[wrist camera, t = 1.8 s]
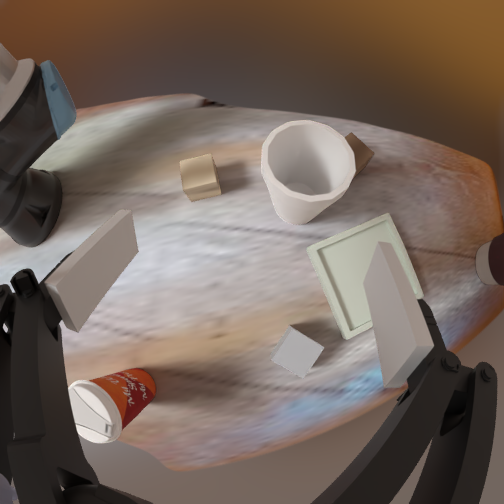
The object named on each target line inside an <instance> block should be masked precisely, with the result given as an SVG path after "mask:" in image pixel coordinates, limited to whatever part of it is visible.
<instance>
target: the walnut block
mask: <svg viewBox="0 0 504 504" xmlns="http://www.w3.org/2000/svg"><path fill="white" fill-rule="evenodd" d="M345 139H346V141H347V143H348V144H349V146H350V147H351V149H352V151H353V152H354V158H355V168H356V172H355V174H354V176H353V178H354V177H355V176H356V175H357V174H358V173H359V172H360V171H361V170H363V169H364V168H365V167H366V165H367V164H368V162H369V161H370V159H371V158H372V156H373V155H374V152H373V151H372V150H370V149H369V148H368V147H367V146H366V145H365V144H364V143H363V142H362V141H361V140H360V139H358V138H357V137H356V136H355V135H354V134H353V133H352V132H351V133H350V134H349V135H347V136H346V137H345Z"/></svg>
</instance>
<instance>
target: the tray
mask: <svg viewBox="0 0 504 504" xmlns="http://www.w3.org/2000/svg"><path fill="white" fill-rule="evenodd" d="M378 241H381V242H387V243H391V244H392V246H393V248H394V250H395V252H396V254H397V256H398V259H399V261H400V263H401V265H402V267H403V269H404V271H405V274H406V276H407V278H408V280H409V282H410V285H411V287H412V289H413V292H414V294H415V296H416V299H421V298H422V297H424V295H423V292H422V289H421V287H420V284H419V281H418V279H417V276H416V273H415V271H414V268H413V266H412V263H411V261H410V258H409V256H408V254H407V251H406V249H405V247H404V244H403V242H402V240H401V238H400V235H399V233H398V231H397V229H396V227H395V225H394V222H393V220H392V218H391V216H390V214H389V212H388V213H386V214H383V215H381V216H379V217H377V218H374V219H372V220H370V221H367V222H365V223H363V224H360V225H358V226H356V227H353V228H351V229H349V230H346V231H344V232H342V233H339V234H337V235H335V236H332V237H330V238H328V239H325V240H323V241H321V242H318V243H316V244H314V245H311V246H309V247H308V248H307V249H306V251H307V253H308V255H309V258H310V260H311V262H312V264H313V267H314V269H315V271H316V274H317V276H318V278H319V281H320V283H321V286H322V288H323V290H324V293H325V295H326V298H327V300H328V302H329V305H330V307H331V310H332V312H333V315H334V317H335V320H336V322H337V325H338V327H339V330H340V332H341V335H342V338H344V339H346V340H348V339H350V338H352V337H354V336H356V335H358V334H360V333H361V332H363V331H365V330H367V329H369V328H371V327H373V323H372V319H371V314H370V310H369V306H368V301H367V297H366V293H365V289H364V285H363V282H364V279H365V276H366V274H367V271H368V268H369V265H370V263H371V260H372V257H373V254H374V251H375V248H376V245H377V242H378Z"/></svg>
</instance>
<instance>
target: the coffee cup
mask: <svg viewBox="0 0 504 504" xmlns="http://www.w3.org/2000/svg"><path fill="white" fill-rule="evenodd" d="M475 263H476V270H477V274H478V276H479V278H480V280H481V281H482V282H483V283H484V284H487V285H503V286H504V233H503V234H501V235H499V236H497V237H495V238H494V239H493V240H492V241H490V242H487V243H485V244H483V245H482V246H481V247H480V248H479V249H478V251H477V254H476V261H475Z"/></svg>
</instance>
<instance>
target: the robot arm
mask: <svg viewBox="0 0 504 504" xmlns="http://www.w3.org/2000/svg"><path fill="white" fill-rule="evenodd" d="M75 120H76V109H75V106H74V103H73V101H72V99H71V96H70V94H69V92H68V90H67V88H66V86H65V84H64V82H63V80H62V78H61V76H60V74H59V72H58V71H57V69H56V67H55V66H54V64H53V63H52V62H51V61H49V60H48V61H45V62H43V63H41V65H40V66H37V64H36V63H35V62H34V61H33V60H32V59H24V60H20V61H16V59H15V58H14V57H13V56H12V55H11V54H10V53H9V52H8V51H7V50H6V49H5V48H4V47H3V45H2V44H1V43H0V228H2V229H3V230H4V231H5V232H6V233H7V234H8V235H9V236H11V237H12V239H13V240H14V241H15V242H16V243H18V244H20V245H23V246H26V247H34V246H36V245H38V244H40V243H41V242H42V241H43V240H44V239H45V238H46V237H47V236H48V234H49V233H50V231H51V230H52V228H53V226H54V224H55V222H56V220H57V217H58V214H59V211H60V207H61V200H62V189H61V184H60V182H59V180H58V178H57V177H56V176H54V175H53V174H51V173H50V172H48V171H46V170H38V169H33V168H29V167H30V166H31V165H32V164H33V163H34V162H35V161H36V160H37V159H38V158H39V157H40V156H41V155H42V154H43V153H44V152H45V151H46V150H47V149H48V148H49V147H50V146H51V145H52V144H53V143H54V142H56V141H57V140H59V139H60V138H61V135H63V134H64V133H65V132H66V131H67V130H68V129H69V128H70V127H71V126H72V125H73V124H74V122H75ZM138 252H139V251H138V246H137V241H136V235H135V229H134V223H133V216H132V210H123V209H120V210H119V211H118V212H117V213H116V214H114V215H113V216H112V217H111V218H110V219H109V220H108V221H106V222H105V223H104V224H103V225H102V226H101V227H100V228H98V229H97V230H96V231H95V232H94V233H93V234H92V235H91V236H90V237H89V238H88V239H86V240H85V241H84V242H83V243H82V244H81V245H80V246H79V247H78V248H77V249H76V250H75V251H73V252H71V253H70V254H68V255H66V256H65V257H64V258H63V259H62V260H61V261H60V263H58V264H57V265H56V266H55V268H54V269H53V270H52V271H51V272H50V273H49V274H48V275H47V276H46V277H45V278H44V279H43V280H42V281H41V282H40V283H39V284H38V281H37V279H36V277H35V275H34V272H33V271H32V270H31V269H23V270H21V271H19V272H17V273H16V274H15V275H14V276H13V277H12V279H11V281H10V282H11V284H12V286H13V288H14V290H15V292H16V293H12V291H11V289H10V287H9V286H8V285H7V284H3V285H0V504H13V501H12V500H17V499H19V503H20V504H153V503H151V502H149V501H146V500H144V499H141V498H139V497H136V496H133V495H131V494H129V493H126V492H123V491H119V490H117V489H113V488H110V487H108V486H105V485H102V484H100V483H99V481H98V478H97V476H96V474H95V472H94V470H93V468H92V467H91V466H90V464H89V463H88V462H87V460H86V458H85V456H84V453H83V450H82V446H81V443H80V440H79V437H78V432H77V428H76V424H75V420H74V416H73V412H72V407H71V402H70V397H69V391H68V386H67V379H66V373H65V365H64V357H63V347H62V334H61V327H60V325H59V323H60V321H61V320H63V322H64V324H65V325H66V327H67V328H68V329H71V330H73V331H76V332H79V331H80V329H81V328H82V326H83V325H84V323H85V322H86V321H87V319H88V318H89V316H90V315H91V313H92V312H93V311H94V309H95V308H96V306H97V305H98V304H99V302H100V301H101V300H102V298H103V297H104V295H105V294H106V293H107V291H108V290H109V289H110V287H111V286H112V285H113V283H114V282H115V281H116V280H117V278H118V277H119V276H120V274H121V273H122V272H123V271H124V269H125V268H126V267H127V266H128V264H129V263H130V262H131V261H132V259H133V258H134V257H135V256H136V254H137V253H138ZM363 285H364V289H365V293H366V297H367V301H368V306H369V310H370V314H371V319H372V323H373V328H374V333H375V338H376V343H377V348H378V354H379V359H380V365H381V371H382V377H383V384H384V388H397V387H401V386H402V385H403V383H404V382H405V381H406V380H407V382H408V389H407V390H406V391H405V392H404V393H403V394H402V395H401V396H400V397H399V398H398V399H397V401H398V403H397V404H396V406H395V407H394V409H393V411H392V412H391V413H390V415H389V416H388V417H387V419H386V420H385V422H384V423H383V424H382V426H381V427H380V429H379V430H378V431H377V432H376V434H375V435H374V436H373V438H372V439H371V440H370V441H369V443H368V444H367V445H366V446H365V448H364V449H363V450H362V451H361V452H360V454H359V455H358V456H357V457H356V458H355V459H354V460H353V462H352V463H351V464H350V465H349V466H348V467H347V468H346V470H344V472H343V473H342V474H341V475H340V476H339V477H338V478H337V479H336V480H335V481H334V482H333V483H332V484H331V485H330V486H329V487H328V488H327V489H326V490H325V491H324V492H323V493H322V494H321V495H320V496H319V497H317V498H316V499H315V500H314V501H313V502H312V503H311V504H389V503H390V502H391V501H392V499H393V498H394V496H395V495H396V494H397V493H398V491H399V490H400V489H401V487H402V486H403V484H404V483H405V482H406V480H407V479H408V477H409V476H410V474H411V473H412V471H413V470H414V468H415V466H416V465H417V463H418V461H419V460H420V458H421V457H422V455H423V453H424V452H425V450H426V448H427V446H428V445H429V443H430V441H431V439H432V437H433V439H432V443H431V446H430V449H429V453H428V456H427V459H426V462H425V465H424V468H423V470H422V473H421V476H420V478H419V481H418V484H417V486H416V488H415V491H414V493H413V496H412V498H411V500H410V502H409V504H479V501H480V498H481V495H482V491H483V488H484V484H485V480H486V476H487V471H488V467H489V462H490V456H491V451H492V445H493V438H494V430H495V420H496V407H497V406H496V405H497V374H496V372H495V370H494V368H493V367H492V366H491V365H490V364H488V363H487V362H480V363H479V364H478V365H477V366H476V367H475V368H474V369H472V368H469V367H465V366H462V365H461V362H460V360H459V359H458V357H457V356H456V355H455V354H454V353H452V352H450V351H447V350H446V347H445V344H444V341H443V339H442V336H441V333H440V331H439V328H438V326H437V325H436V324H437V323H436V321H435V318H434V316H433V313H432V311H431V309H430V307H429V306H428V305H427V303H426V302H425V301H424V300H423V299H416V296H415V294H414V292H413V289H412V287H411V285H410V282H409V280H408V278H407V276H406V274H405V271H404V269H403V267H402V265H401V263H400V261H399V259H398V256H397V254H396V252H395V250H394V248H393V246H392V244H391V243H387V242H381V241H378V242H377V245H376V248H375V251H374V254H373V257H372V260H371V263H370V265H369V268H368V271H367V274H366V276H365V279H364V282H363ZM4 323H5V325H6V326H7V328H8V331H7V333H6V332H5V331H4V329H3V324H4ZM14 433H15V438H14ZM12 477H13V481H14V485H15V488H14V487H12V486H11V481H12ZM60 485H61V486H62V487H63V488H64V489H65V490H64V491H62V490H61V487H60Z"/></svg>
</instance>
